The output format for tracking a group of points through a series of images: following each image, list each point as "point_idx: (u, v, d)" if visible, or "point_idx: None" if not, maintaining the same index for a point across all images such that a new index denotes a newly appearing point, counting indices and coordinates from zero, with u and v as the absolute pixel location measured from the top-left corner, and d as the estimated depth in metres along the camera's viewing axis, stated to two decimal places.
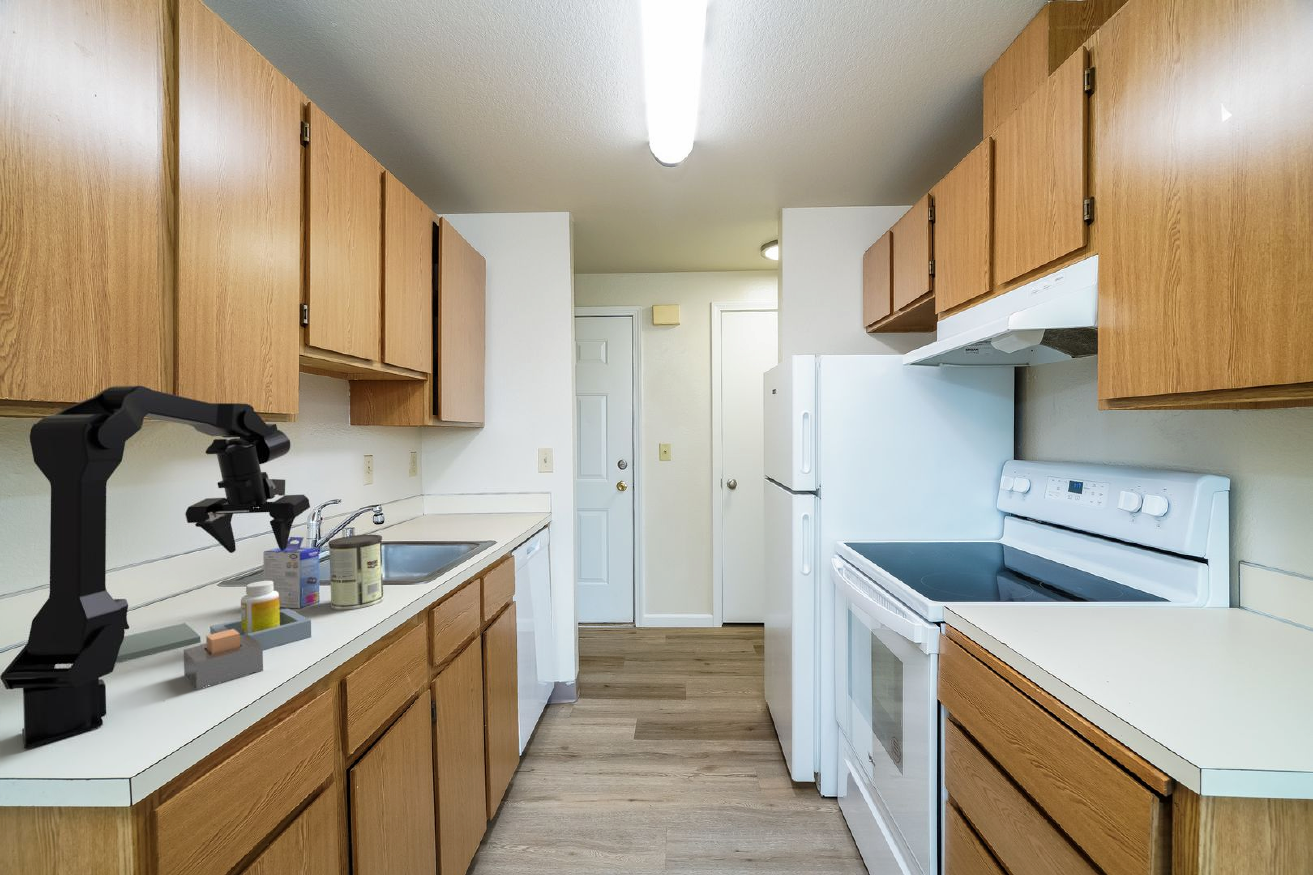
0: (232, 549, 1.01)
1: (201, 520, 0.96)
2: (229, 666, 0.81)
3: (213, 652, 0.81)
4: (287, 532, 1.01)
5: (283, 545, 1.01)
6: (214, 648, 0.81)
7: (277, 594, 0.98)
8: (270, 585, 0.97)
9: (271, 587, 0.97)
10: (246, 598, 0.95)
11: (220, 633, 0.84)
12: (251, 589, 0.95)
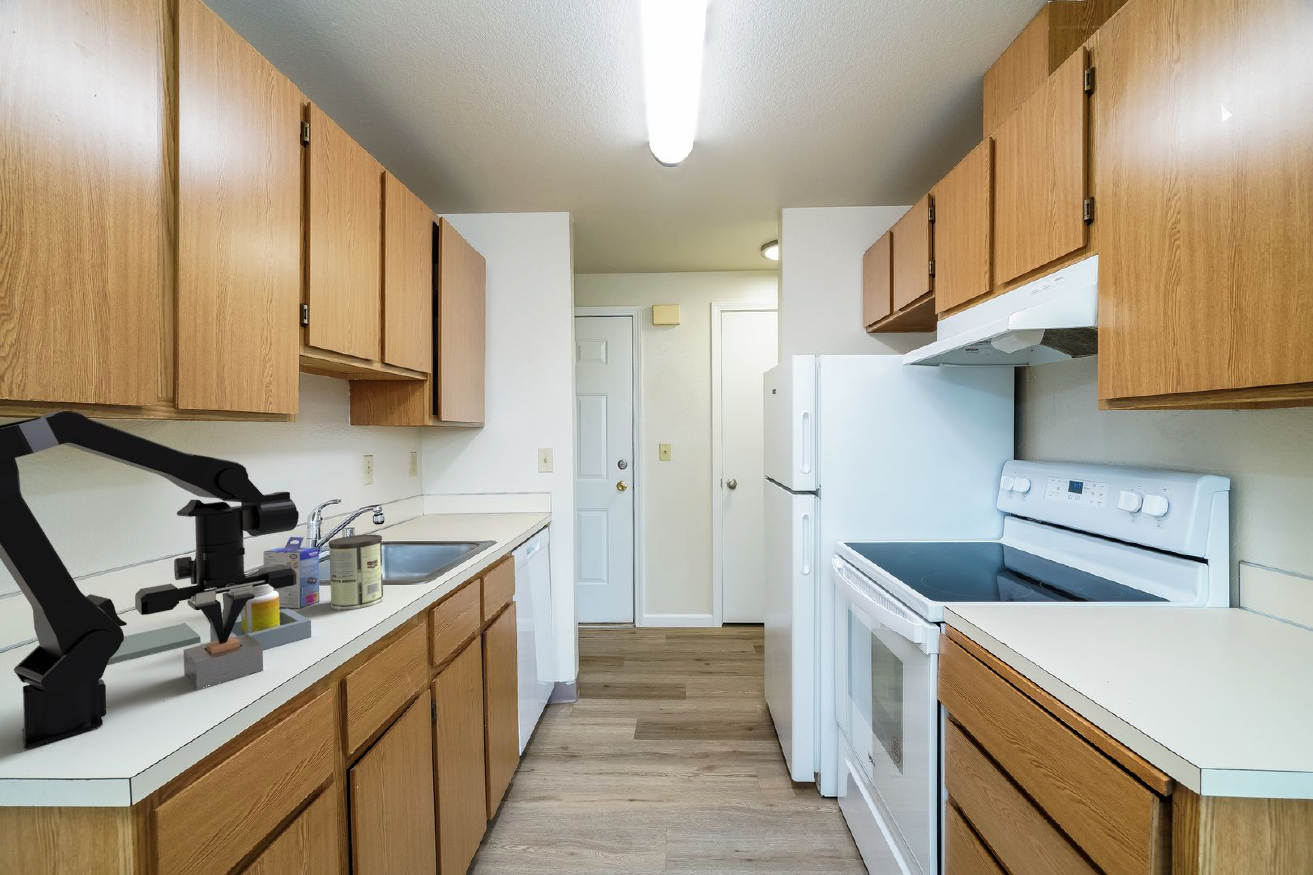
0: None
1: (170, 607, 0.76)
2: (229, 666, 0.81)
3: None
4: None
5: None
6: None
7: (277, 594, 0.98)
8: None
9: (271, 587, 0.97)
10: None
11: None
12: None
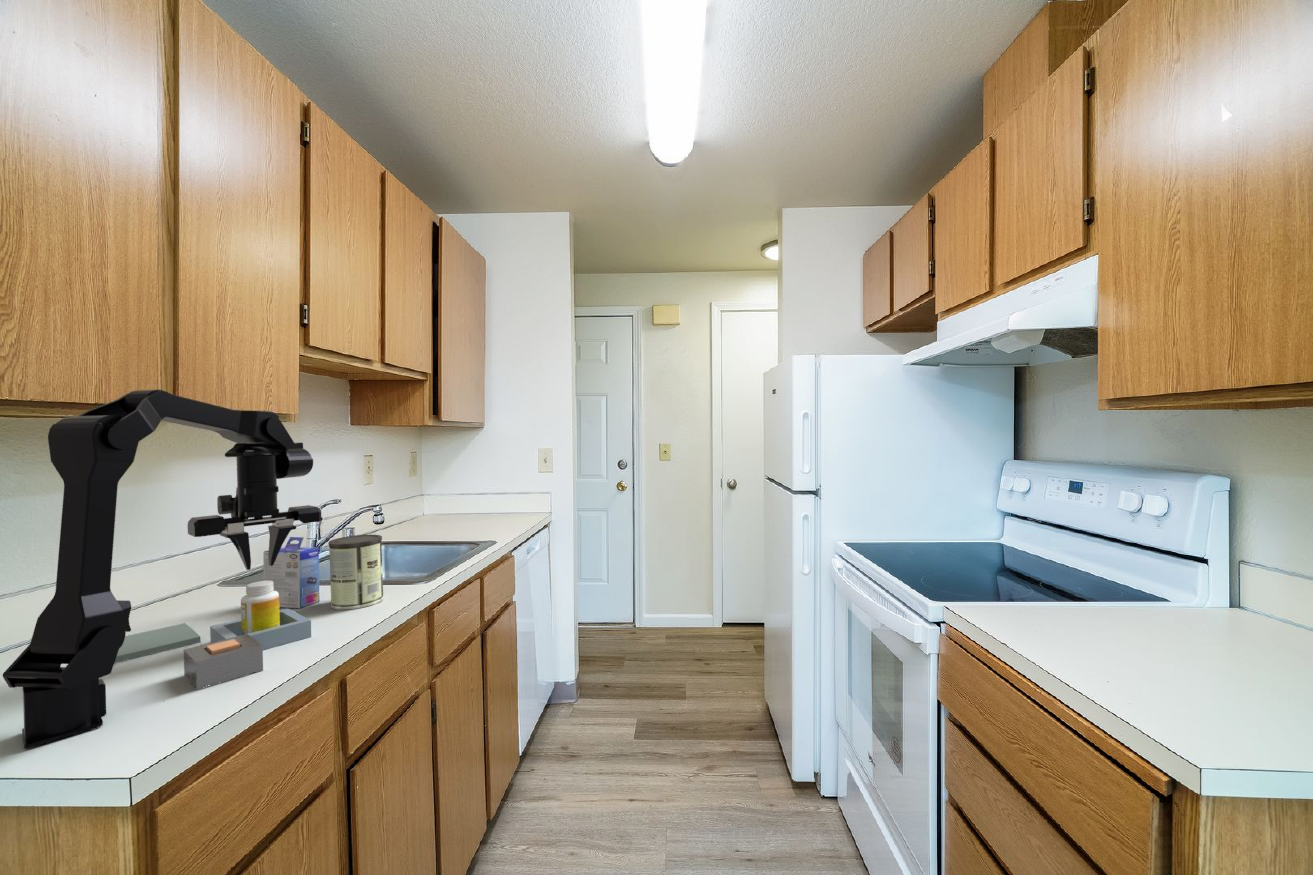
0: None
1: (218, 532, 0.90)
2: (229, 666, 0.81)
3: None
4: None
5: None
6: None
7: (277, 594, 0.98)
8: (270, 585, 0.97)
9: (271, 587, 0.97)
10: (246, 598, 0.95)
11: (220, 643, 0.84)
12: (251, 589, 0.95)
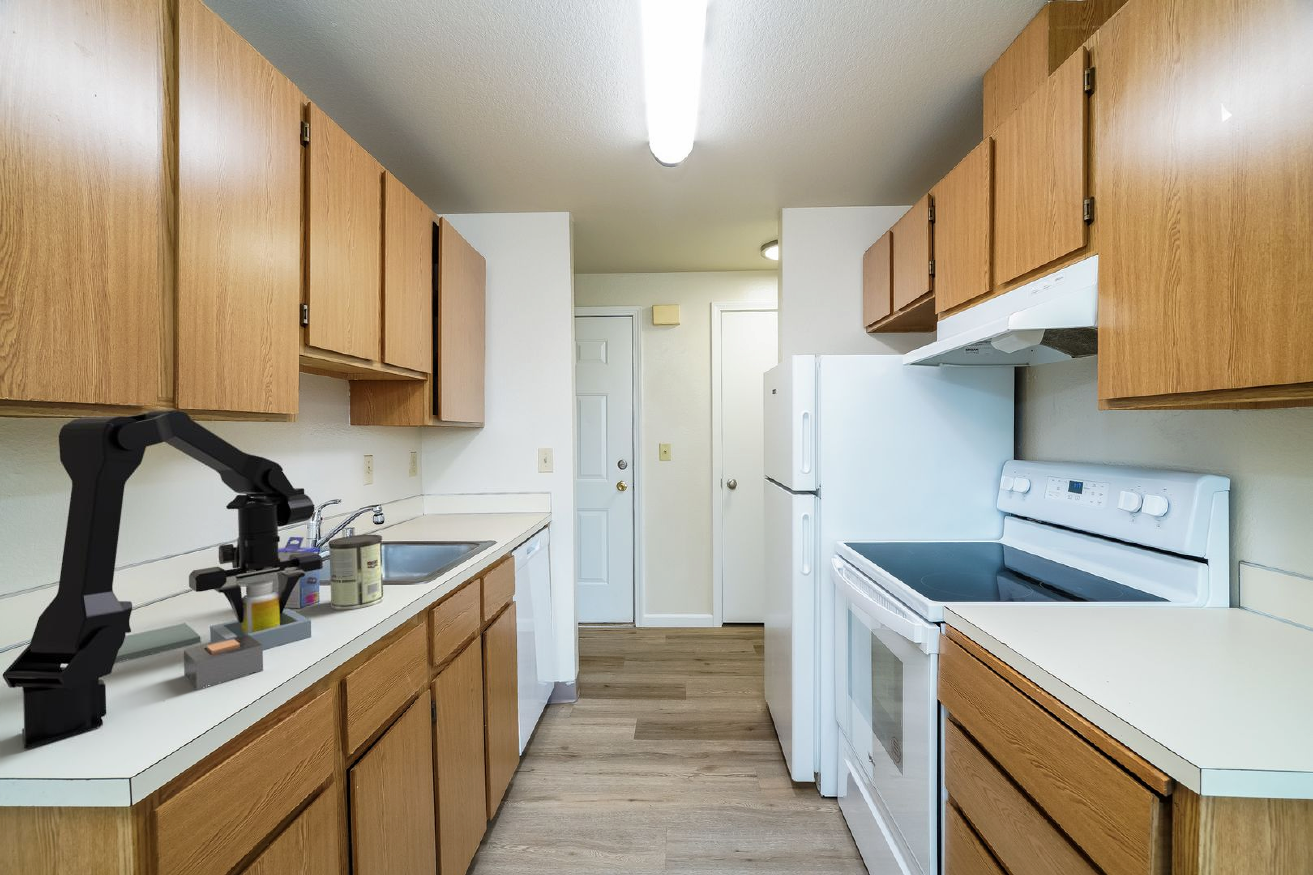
0: None
1: (219, 585, 0.90)
2: (229, 666, 0.81)
3: None
4: None
5: None
6: None
7: (277, 594, 0.98)
8: (270, 585, 0.97)
9: (271, 587, 0.97)
10: (246, 598, 0.95)
11: (220, 643, 0.84)
12: (251, 589, 0.95)
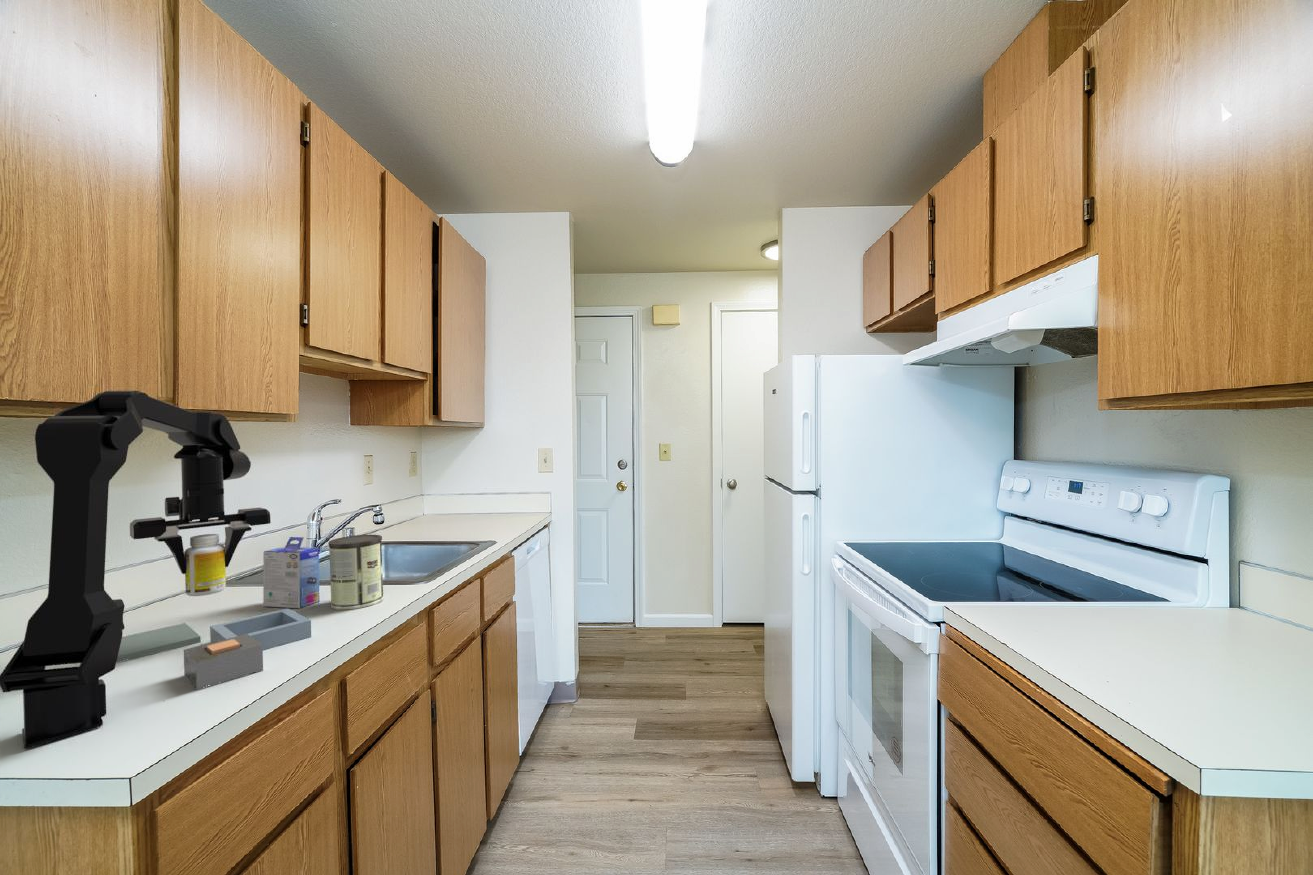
0: None
1: (158, 534, 0.89)
2: (229, 666, 0.81)
3: None
4: None
5: None
6: None
7: (222, 547, 0.97)
8: (214, 537, 0.96)
9: (216, 540, 0.96)
10: (189, 549, 0.94)
11: (220, 643, 0.84)
12: (194, 541, 0.94)
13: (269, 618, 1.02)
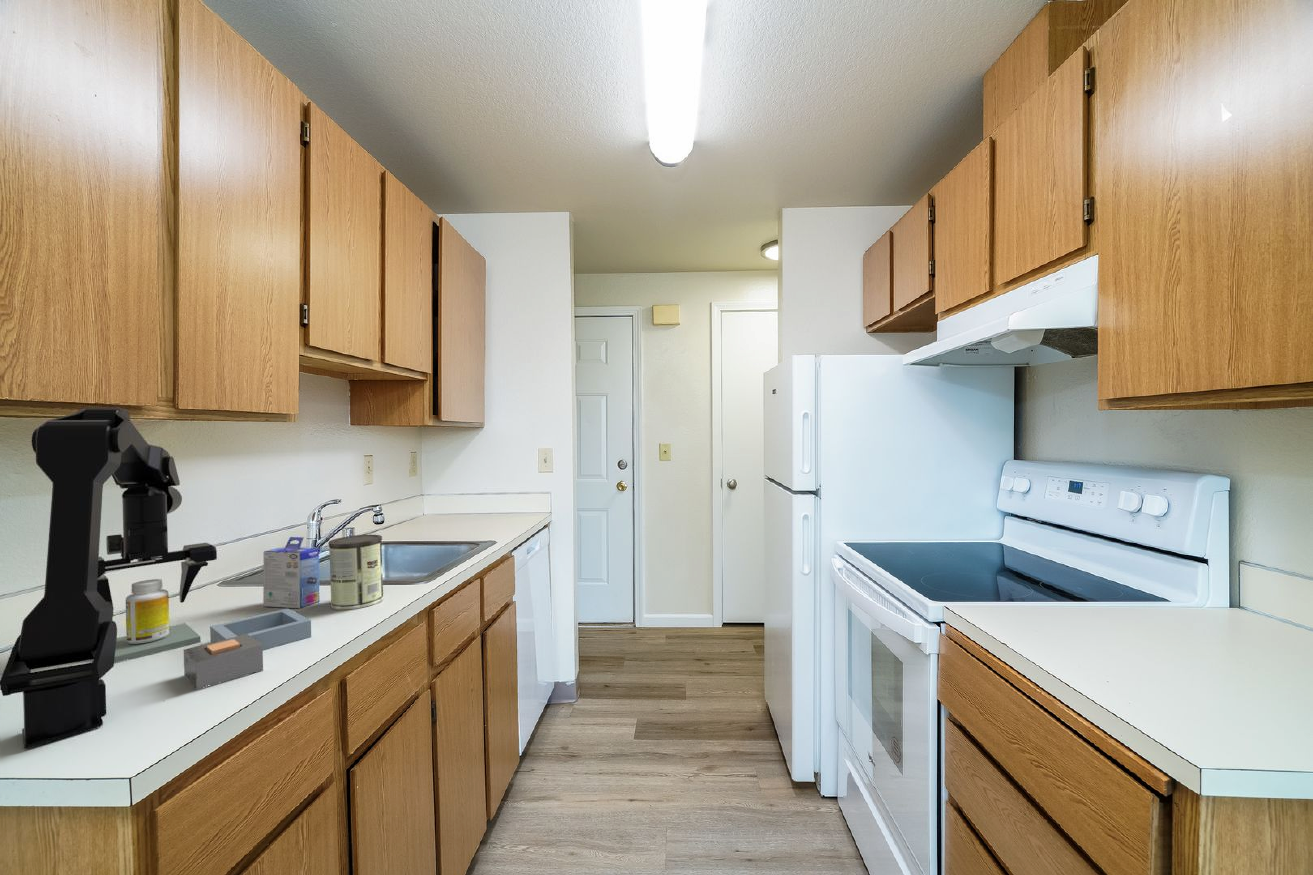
0: None
1: None
2: (229, 666, 0.81)
3: None
4: None
5: None
6: None
7: (165, 593, 0.96)
8: (157, 583, 0.95)
9: (158, 585, 0.96)
10: (130, 596, 0.93)
11: (220, 643, 0.84)
12: (136, 588, 0.94)
13: (269, 618, 1.02)
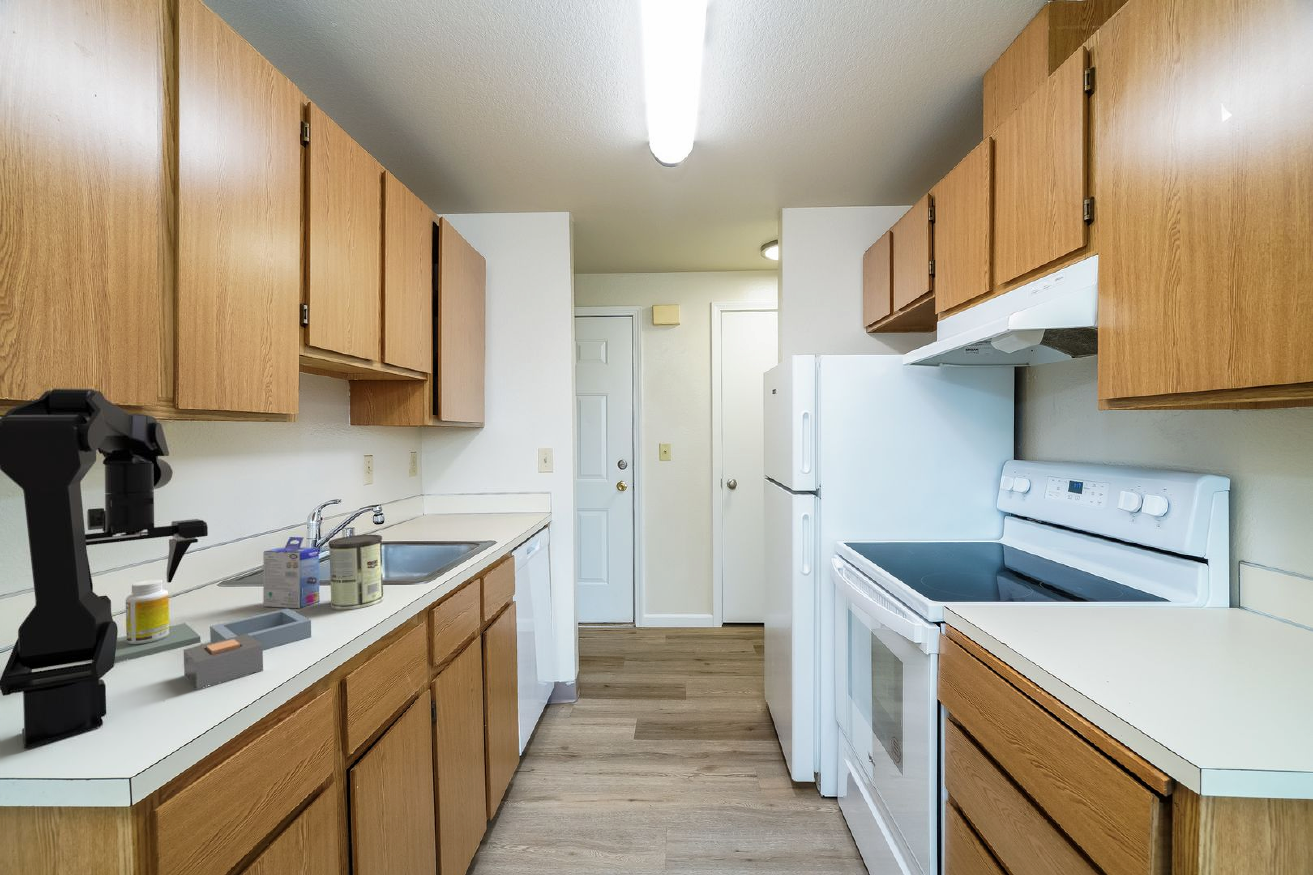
0: None
1: None
2: (229, 666, 0.81)
3: None
4: None
5: (173, 575, 0.91)
6: None
7: (166, 593, 0.96)
8: (157, 584, 0.95)
9: (159, 586, 0.96)
10: (131, 597, 0.93)
11: (220, 643, 0.84)
12: (136, 588, 0.94)
13: (269, 618, 1.02)
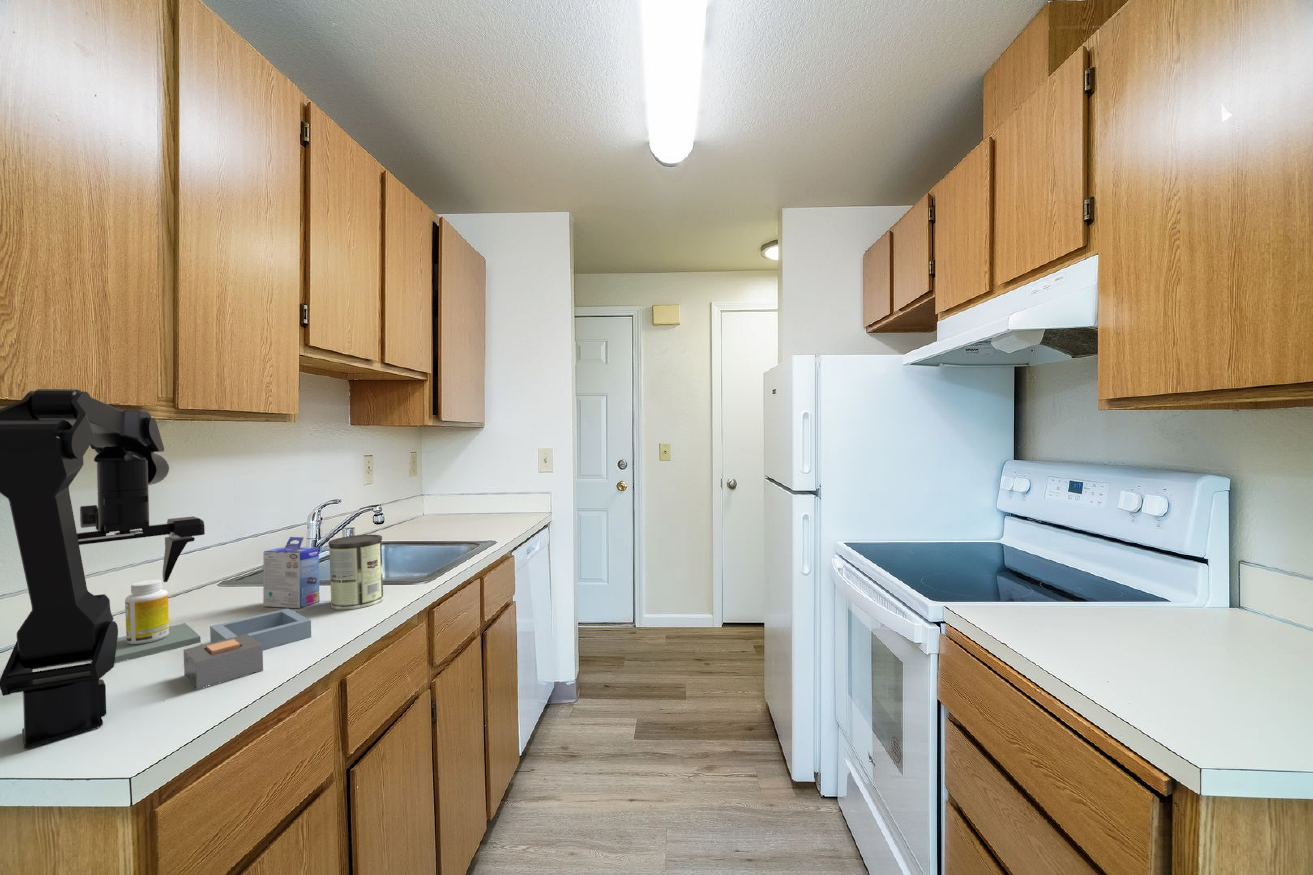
0: None
1: None
2: (229, 666, 0.81)
3: None
4: None
5: (169, 575, 0.89)
6: None
7: (165, 593, 0.96)
8: (156, 584, 0.95)
9: (158, 586, 0.96)
10: (130, 597, 0.93)
11: (220, 643, 0.84)
12: (135, 588, 0.93)
13: (269, 618, 1.02)
